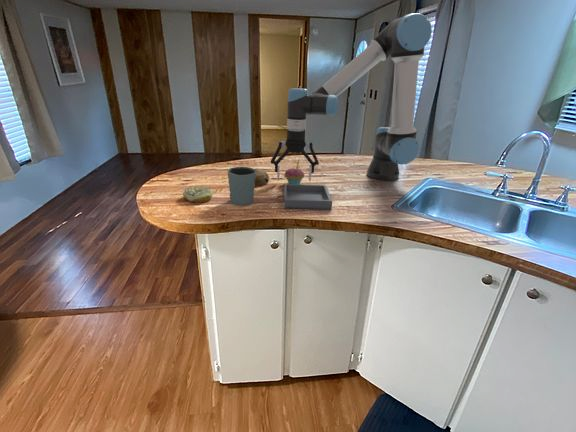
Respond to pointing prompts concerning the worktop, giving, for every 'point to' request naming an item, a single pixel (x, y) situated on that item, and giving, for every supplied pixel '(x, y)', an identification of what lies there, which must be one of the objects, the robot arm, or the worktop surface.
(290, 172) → the cupcake
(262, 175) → the bread roll
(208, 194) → the decorated donut
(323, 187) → the serving tray
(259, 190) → the worktop surface
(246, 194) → the grey cup
